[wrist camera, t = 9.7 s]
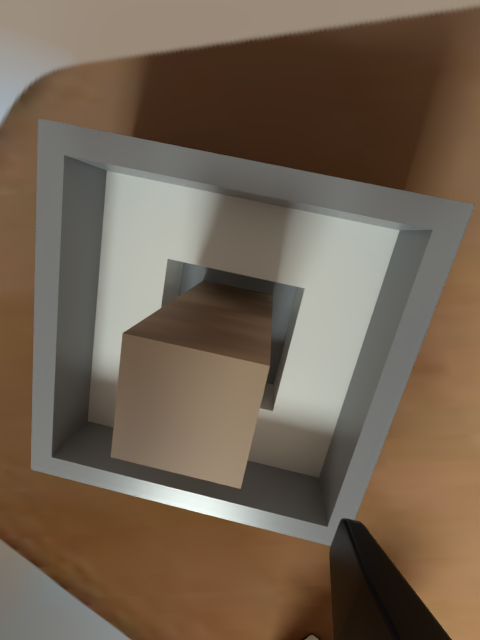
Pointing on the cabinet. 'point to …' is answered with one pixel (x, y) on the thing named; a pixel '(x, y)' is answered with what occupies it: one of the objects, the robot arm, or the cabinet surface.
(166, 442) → the walnut peg
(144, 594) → the cabinet surface
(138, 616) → the cabinet surface
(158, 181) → the peg socket
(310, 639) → the skincare box
